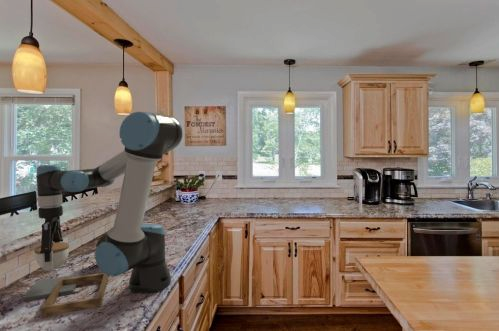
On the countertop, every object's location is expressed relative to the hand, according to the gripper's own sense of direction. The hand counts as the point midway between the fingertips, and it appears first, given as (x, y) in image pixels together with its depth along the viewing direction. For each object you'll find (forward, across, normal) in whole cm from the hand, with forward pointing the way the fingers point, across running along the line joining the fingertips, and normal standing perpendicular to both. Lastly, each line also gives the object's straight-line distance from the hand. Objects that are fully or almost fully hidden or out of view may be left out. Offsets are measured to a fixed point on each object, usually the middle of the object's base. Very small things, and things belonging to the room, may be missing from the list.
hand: (53, 264), depth 110 cm
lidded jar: (+1, 0, 0) cm, 1 cm away
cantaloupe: (+9, -18, +19) cm, 28 cm away
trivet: (+9, 0, 0) cm, 9 cm away
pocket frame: (+9, +11, +10) cm, 18 cm away
